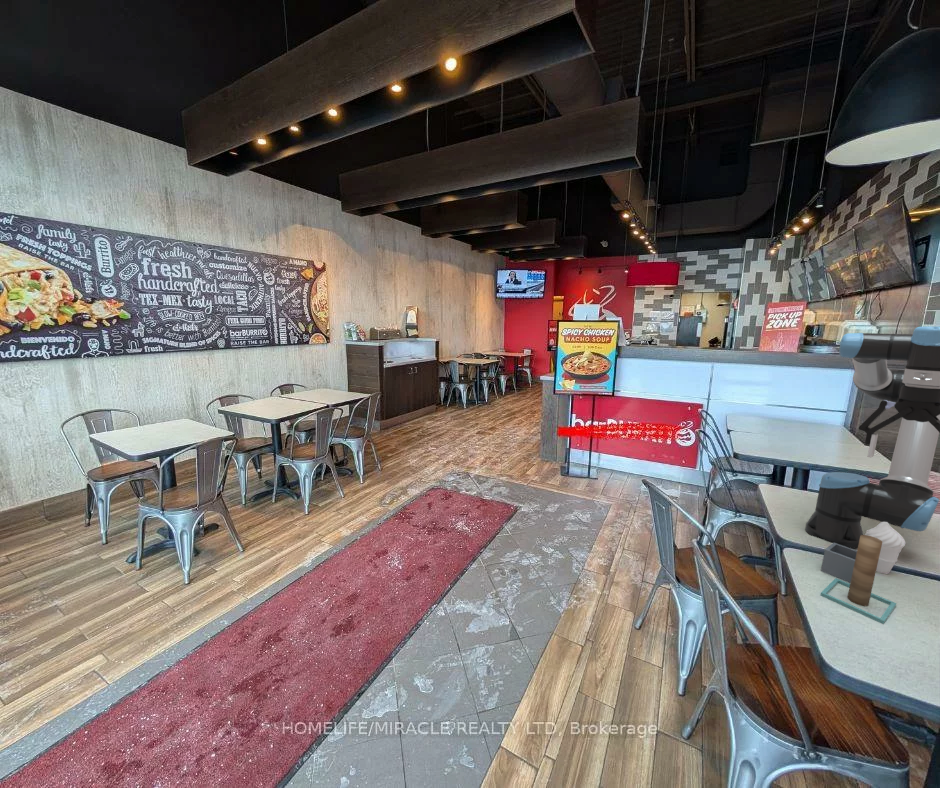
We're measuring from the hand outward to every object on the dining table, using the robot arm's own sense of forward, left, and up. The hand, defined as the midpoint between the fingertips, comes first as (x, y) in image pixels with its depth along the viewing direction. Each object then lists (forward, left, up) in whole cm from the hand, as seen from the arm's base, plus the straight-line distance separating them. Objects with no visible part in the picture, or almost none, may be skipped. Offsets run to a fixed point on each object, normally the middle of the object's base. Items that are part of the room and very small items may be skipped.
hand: (905, 463), depth 104 cm
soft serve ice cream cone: (-9, -2, -37) cm, 38 cm away
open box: (+4, -7, -37) cm, 38 cm away
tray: (+16, -1, -37) cm, 40 cm away
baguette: (+16, -1, -36) cm, 39 cm away
